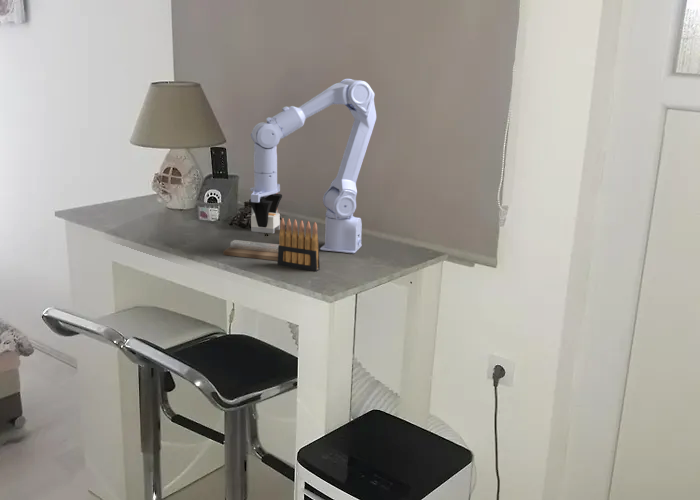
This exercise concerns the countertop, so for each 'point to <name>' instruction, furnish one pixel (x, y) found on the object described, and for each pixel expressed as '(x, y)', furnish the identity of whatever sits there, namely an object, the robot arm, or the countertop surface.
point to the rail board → (251, 254)
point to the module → (271, 225)
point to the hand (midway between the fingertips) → (266, 224)
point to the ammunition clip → (298, 246)
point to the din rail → (254, 246)
